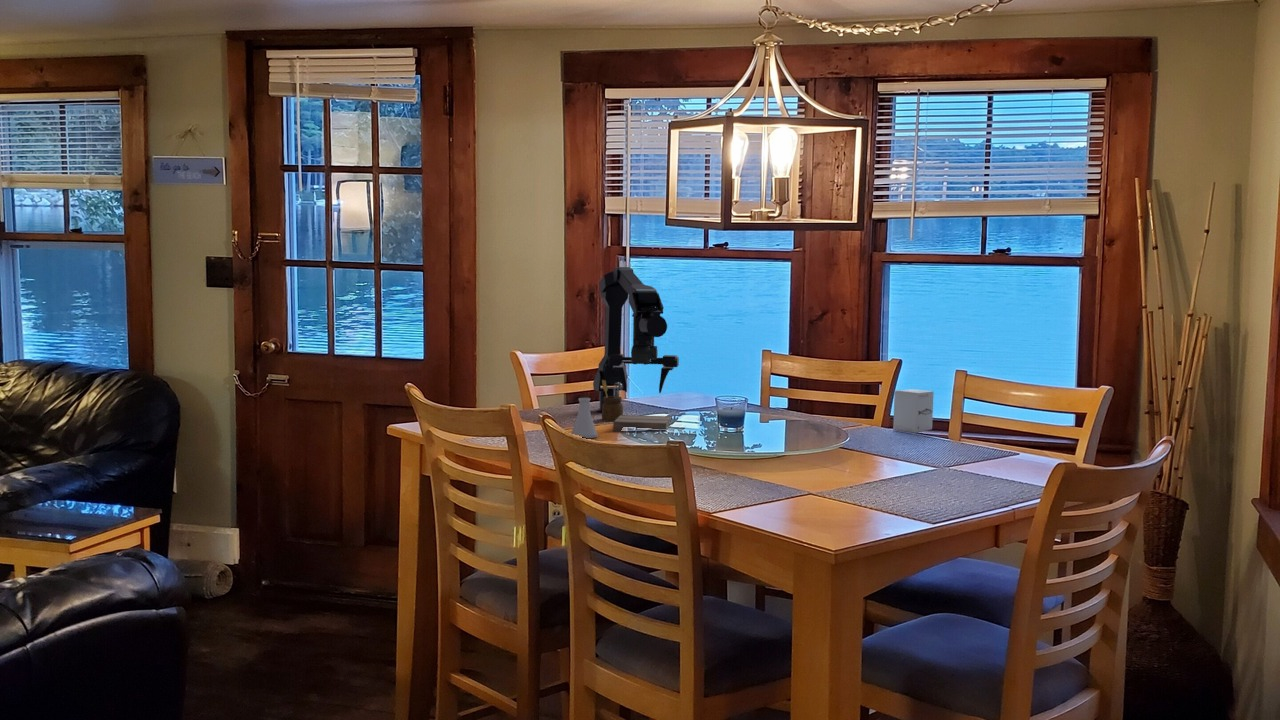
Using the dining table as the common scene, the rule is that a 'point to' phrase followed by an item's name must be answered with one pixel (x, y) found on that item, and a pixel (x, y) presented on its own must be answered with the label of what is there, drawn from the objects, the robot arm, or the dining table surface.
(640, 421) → the walnut plinth
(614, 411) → the utensil holder
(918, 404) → the supplement box
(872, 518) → the dining table surface
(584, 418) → the flask
